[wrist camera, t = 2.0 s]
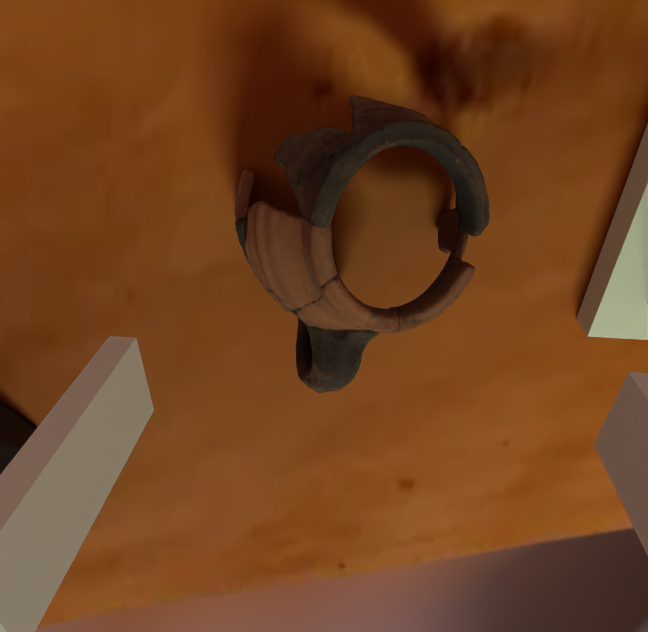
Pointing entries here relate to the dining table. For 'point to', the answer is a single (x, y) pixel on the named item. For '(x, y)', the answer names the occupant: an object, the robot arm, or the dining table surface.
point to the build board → (622, 264)
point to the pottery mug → (316, 236)
